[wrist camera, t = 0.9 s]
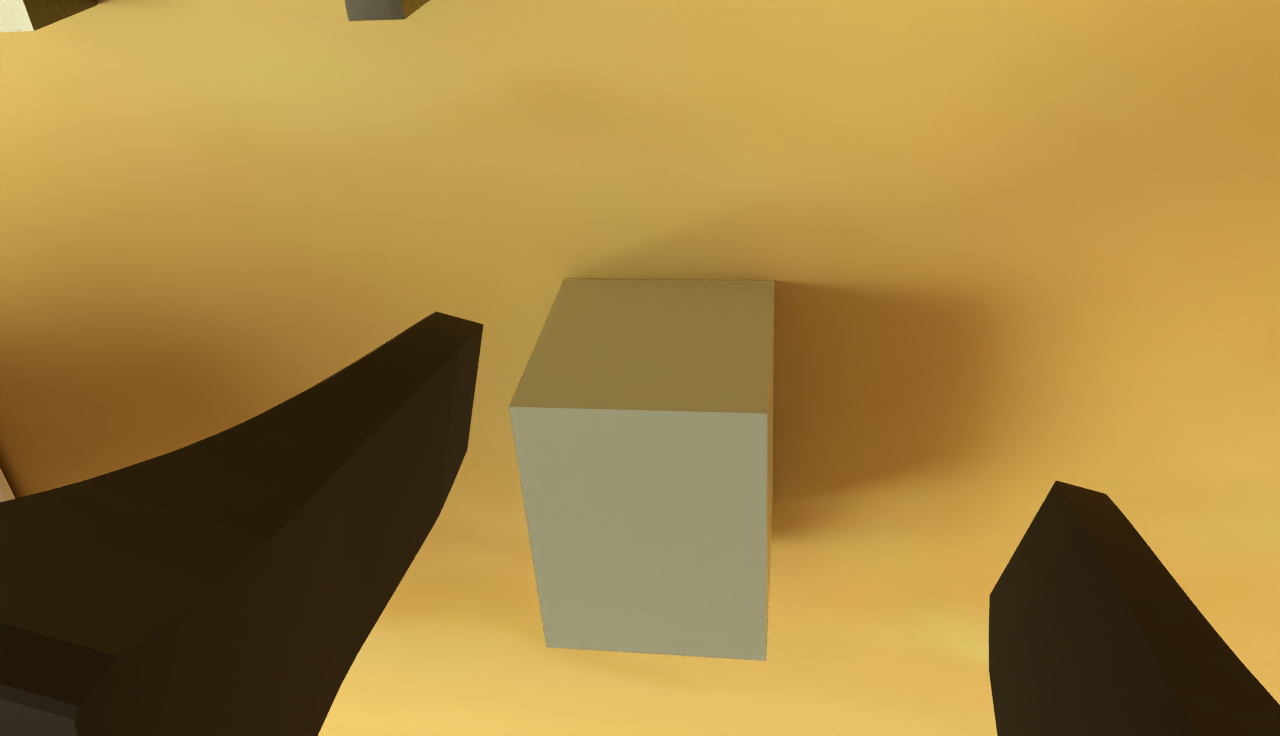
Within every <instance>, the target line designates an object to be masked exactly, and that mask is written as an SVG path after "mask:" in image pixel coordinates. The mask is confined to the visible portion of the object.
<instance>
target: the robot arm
mask: <svg viewBox="0 0 1280 736" xmlns="http://www.w3.org/2000/svg"><path fill="white" fill-rule="evenodd" d="M482 331H483V324H480V323H476V322H472V321H469V320H465V319H461V318H458V317H454V316H450V315H447V314H443V313H439V312H435V313H433V314H431V315H430V316H428V317H426V318H424V319H423V320H421V321H419V322H418V323H416V324H415V325H413V326H411V327H410V328H408V329H407V330H405V331H404V332H402V333H400V334H399V335H397V336H396V337H394V338H393V339H391V340H389V341H388V342H386V343H385V344H383V345H382V346H380V347H378V348H377V349H375V350H374V351H372V352H370V353H369V354H367V355H366V356H364V357H362V358H361V359H359V360H357V361H356V362H354V363H352V364H351V365H349V366H347V367H346V368H344V369H342V370H341V371H339V372H337V373H335V374H334V375H332V376H330V377H329V378H327V379H325V380H324V381H322V382H320V383H318V384H317V385H315V386H313V387H311V388H310V389H308V390H306V391H304V392H302V393H300V394H298V395H296V396H295V397H293V398H291V399H289V400H287V401H285V402H283V403H281V404H279V405H277V406H275V407H273V408H271V409H270V410H268V411H266V412H264V413H262V414H260V415H258V416H256V417H254V418H252V419H250V420H248V421H246V422H243V423H241V424H239V425H237V426H234V427H232V428H230V429H228V430H225V431H223V432H221V433H218V434H216V435H213V436H211V437H208V438H206V439H204V440H201V441H199V442H196V443H194V444H191V445H189V446H186V447H184V448H181V449H179V450H176V451H173V452H171V453H168V454H165V455H162V456H159V457H156V458H153V459H150V460H147V461H144V462H141V463H138V464H135V465H132V466H129V467H126V468H122V469H119V470H116V471H113V472H110V473H107V474H104V475H101V476H98V477H95V478H92V479H89V480H85V481H82V482H78V483H75V484H71V485H67V486H63V487H60V488H56V489H52V490H49V491H45V492H41V493H37V494H33V495H29V496H25V497H20V498H16V499H15V497H14V495H13V493H12V491H11V489H10V487H9V485H8V483H7V481H6V478H5V476H4V474H3V472H2V470H1V468H0V736H318V734H319V732H320V729H321V727H322V725H323V723H324V721H325V719H326V716H327V714H328V712H329V710H330V708H331V705H332V703H333V701H334V699H335V697H336V695H337V692H338V690H339V688H340V686H341V684H342V682H343V680H344V678H345V676H346V675H347V673H348V671H349V669H350V667H351V665H352V663H353V661H354V660H355V658H356V656H357V654H358V652H359V651H360V649H361V647H362V646H363V644H364V642H365V640H366V639H367V637H368V635H369V634H370V632H371V630H372V629H373V627H374V625H375V624H376V622H377V620H378V619H379V617H380V615H381V614H382V612H383V610H384V608H385V607H386V605H387V603H388V602H389V600H390V598H391V597H392V595H393V593H394V592H395V590H396V588H397V587H398V585H399V583H400V582H401V580H402V578H403V576H404V575H405V573H406V571H407V570H408V568H409V566H410V565H411V563H412V561H413V560H414V558H415V556H416V554H417V553H418V551H419V549H420V548H421V546H422V544H423V542H424V541H425V539H426V537H427V536H428V534H429V532H430V531H431V529H432V527H433V525H434V524H435V522H436V520H437V518H438V517H439V515H440V512H441V510H442V508H443V506H444V503H445V501H446V499H447V496H448V494H449V492H450V490H451V487H452V485H453V483H454V480H455V478H456V475H457V473H458V471H459V468H460V466H461V463H462V461H463V459H464V456H465V454H466V451H467V447H468V439H469V431H470V423H471V416H472V408H473V400H474V392H475V385H476V377H477V369H478V362H479V354H480V346H481V338H482ZM989 673H990V681H991V689H992V697H993V705H994V712H995V720H996V727H997V734H998V736H1280V705H1279V704H1278V703H1277V701H1276V700H1275V699H1274V698H1273V697H1272V696H1271V695H1270V694H1269V692H1268V691H1267V690H1266V689H1265V688H1264V687H1263V686H1262V685H1261V683H1260V682H1259V681H1258V680H1257V679H1256V678H1255V677H1254V676H1253V674H1252V673H1251V672H1250V671H1249V670H1248V669H1247V668H1246V666H1245V665H1244V664H1243V663H1242V662H1241V661H1240V660H1239V658H1238V657H1237V656H1236V655H1235V654H1234V652H1233V651H1232V650H1231V649H1230V648H1229V646H1228V645H1227V644H1226V643H1225V642H1224V641H1223V639H1222V638H1221V637H1220V636H1219V635H1218V633H1217V632H1216V631H1215V630H1214V628H1213V627H1212V626H1211V625H1210V623H1209V622H1208V621H1207V620H1206V619H1205V617H1204V616H1203V615H1202V614H1201V612H1200V611H1199V610H1198V609H1197V607H1196V606H1195V605H1194V604H1193V602H1192V601H1191V600H1190V599H1189V597H1188V596H1187V595H1186V593H1185V592H1184V591H1183V590H1182V588H1181V587H1180V586H1179V585H1178V583H1177V582H1176V581H1175V579H1174V578H1173V577H1172V576H1171V574H1170V573H1169V572H1168V570H1167V569H1166V568H1165V567H1164V565H1163V564H1162V563H1161V561H1160V560H1159V559H1158V558H1157V556H1156V555H1155V554H1154V552H1153V551H1152V550H1151V548H1150V547H1149V546H1148V545H1147V543H1146V542H1145V541H1144V539H1143V538H1142V537H1141V536H1140V534H1139V533H1138V532H1137V531H1136V529H1135V528H1134V527H1133V525H1132V524H1131V523H1130V522H1129V520H1128V519H1127V518H1126V517H1125V516H1124V514H1123V513H1122V512H1121V511H1120V509H1119V508H1118V507H1117V506H1116V505H1115V504H1114V503H1113V501H1112V500H1111V499H1110V498H1109V497H1108V496H1107V495H1106V494H1104V493H1100V492H1096V491H1093V490H1089V489H1085V488H1082V487H1078V486H1074V485H1071V484H1067V483H1063V482H1060V481H1056V482H1055V483H1054V485H1053V487H1052V488H1051V490H1050V492H1049V494H1048V495H1047V497H1046V499H1045V501H1044V502H1043V504H1042V506H1041V507H1040V509H1039V511H1038V513H1037V514H1036V516H1035V518H1034V520H1033V521H1032V523H1031V525H1030V527H1029V528H1028V530H1027V532H1026V533H1025V535H1024V537H1023V539H1022V540H1021V542H1020V544H1019V546H1018V547H1017V549H1016V551H1015V552H1014V554H1013V556H1012V558H1011V559H1010V561H1009V563H1008V565H1007V566H1006V568H1005V570H1004V572H1003V573H1002V575H1001V577H1000V578H999V580H998V582H997V584H996V585H995V587H994V589H993V591H992V592H991V594H990V608H989Z"/></svg>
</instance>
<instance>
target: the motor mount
mask: <svg viewBox="0 0 1280 736" xmlns="http://www.w3.org/2000/svg"><path fill="white" fill-rule="evenodd" d="M428 1H429V0H345V4H346V9H347V14H348V19H349V21H363V20H394V19H405V18H407V17H408V16H409V15H411V14H412V13H413V12H415V11H416V10H417V9H419V8H420V7H421V6H423V5H424V4H425V3H426V2H428ZM96 5H98V4H97V1H96V0H0V32H15V31H35V30H37V29H40V28H42V27H45V26H47V25H50V24H52V23H54V22H57V21H59V20H62V19H64V18H67V17H69V16H71V15H74V14H76V13H79V12H81V11H84V10H86V9H89V8H91V7H93V6H96Z"/></svg>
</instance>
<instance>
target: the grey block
mask: <svg viewBox="0 0 1280 736" xmlns="http://www.w3.org/2000/svg"><path fill="white" fill-rule="evenodd" d="M774 294H775V280H661V279H564V280H563V283H562V285H561V287H560V290H559V292H558V294H557V297H556V299H555V301H554V304H553V306H552V308H551V311H550V313H549V315H548V318H547V320H546V322H545V325H544V327H543V329H542V332H541V334H540V336H539V339H538V341H537V343H536V346H535V348H534V350H533V353H532V355H531V357H530V360H529V362H528V364H527V367H526V369H525V371H524V374H523V376H522V378H521V381H520V383H519V385H518V388H517V390H516V392H515V394H514V397H513V399H512V401H511V404H510V406H509V409H510V415H511V422H512V428H513V435H514V441H515V447H516V454H517V460H518V467H519V473H520V480H521V486H522V492H523V499H524V505H525V512H526V518H527V525H528V531H529V537H530V544H531V550H532V557H533V563H534V570H535V576H536V583H537V589H538V595H539V602H540V608H541V615H542V621H543V628H544V634H545V640H546V647H550V648H566V649H582V650H599V651H615V652H631V653H648V654H664V655H681V656H697V657H713V658H730V659H746V660H762V661H766V651H767V627H768V603H769V579H770V555H771V531H772V507H773V408H774Z"/></svg>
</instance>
